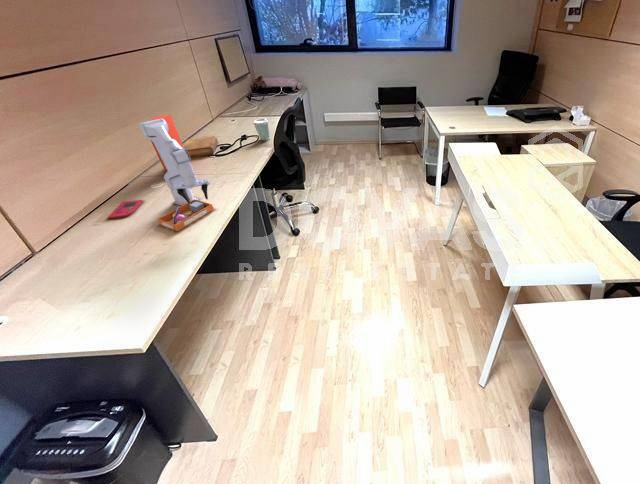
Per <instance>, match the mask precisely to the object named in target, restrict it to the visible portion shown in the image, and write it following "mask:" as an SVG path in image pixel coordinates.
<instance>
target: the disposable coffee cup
mask: <svg viewBox="0 0 640 484" xmlns="http://www.w3.org/2000/svg"><path fill="white" fill-rule="evenodd" d="M253 125H254V128H255V130H256V133H257V134H258V137H259V139H260V140H261V141H268V140H270V130H269V128H270V127H269V121H268V120H267V118H257V119H255V120H254V121H253Z"/></svg>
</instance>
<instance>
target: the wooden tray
mask: <svg viewBox="0 0 640 484" xmlns="http://www.w3.org/2000/svg"><path fill="white" fill-rule="evenodd" d="M196 201H197V202H200V203H203V205H204V207H205V208H204V209H202V210H200V211H199V212H197V213H195V212H192V211H191V208H190V206H189V205H190V204H192V203H194V202H196ZM176 210H177V208H175V209H173V210H172V211H170V212H168V213H166V214H164V215H162V216H160V217H158V218H157V222H158V224H159V226H162V227H165V228H167V229H170V230H173V231H176V232H180V230H182V229H184V228H185V227H188V226H189V225H191V224H192V223H194V222H196V221H198V220H200V219H201V218H203V217H204V216H206V215H208V214H210V213H211V212H212V211H214V210H215V208H214V205H213V204H212V203H208V202H205V201H202V200H196V199H194V200H192V201H190V203H187V204H185V205H183V206H182V205H180V206H179V214H180V215H184V216H187V215H188V217H185V218H186V219H184V220H183V221H178V222H177V223H176V225H174V224H173V223H174V222H173V218H174V217H173V215H174V214H175V212H176ZM176 216H177V213H176V215H175V217H176Z"/></svg>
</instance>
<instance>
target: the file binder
mask: <svg viewBox="0 0 640 484" xmlns="http://www.w3.org/2000/svg"><path fill="white" fill-rule="evenodd" d="M160 118H162V119H164V120H165V122H166V123H167V125H168V129H169V130H168V135H169V136H170V138H171V139H174V140H176V142H177V143H178V144H179V145H180V146H181V148H182V147H183V148H184V144H183V142H182V139H181V137H180V134H179V132H178V130H177V127H176V125H175V123H174V120H173V117H172V115H171V114H165V115H164V114H163V115H156V116H155V117H153V118H152V119H150V120H149V121H152V120H157V119H160ZM150 142H151V144H152V146H153V148H154V150H155V152H156V155H157V157H158V159H159V161H160V164H161V165H162V168H163V169H164V171H165V174H166V173H167V171H168V170H167V168H166V166H165V164H164V162H163V160H162V158H161V156H160V154H159V152H158V150H157V148H156V146H155V144H154V143H153V142H152V140H150Z"/></svg>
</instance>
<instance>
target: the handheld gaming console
mask: <svg viewBox="0 0 640 484" xmlns="http://www.w3.org/2000/svg"><path fill="white" fill-rule="evenodd" d="M142 203H144V202H143V200H142V199H135V200H125V201H122V202H121V203H120V204H119V205H118V206H117V207H116V208H115V209H114V210H113V211H112V212H111V213H110V214H109V215H108V216H107V218H108V219H110V220H111V219H120V218H121V219H122V218H126V217H129V216H131V215H133V214H134V213H135V211H136V210H137V209H138V208H139V207H140V206H141V205H142Z"/></svg>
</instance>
